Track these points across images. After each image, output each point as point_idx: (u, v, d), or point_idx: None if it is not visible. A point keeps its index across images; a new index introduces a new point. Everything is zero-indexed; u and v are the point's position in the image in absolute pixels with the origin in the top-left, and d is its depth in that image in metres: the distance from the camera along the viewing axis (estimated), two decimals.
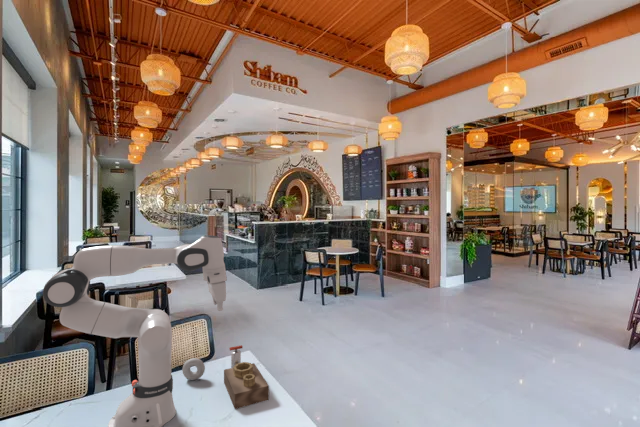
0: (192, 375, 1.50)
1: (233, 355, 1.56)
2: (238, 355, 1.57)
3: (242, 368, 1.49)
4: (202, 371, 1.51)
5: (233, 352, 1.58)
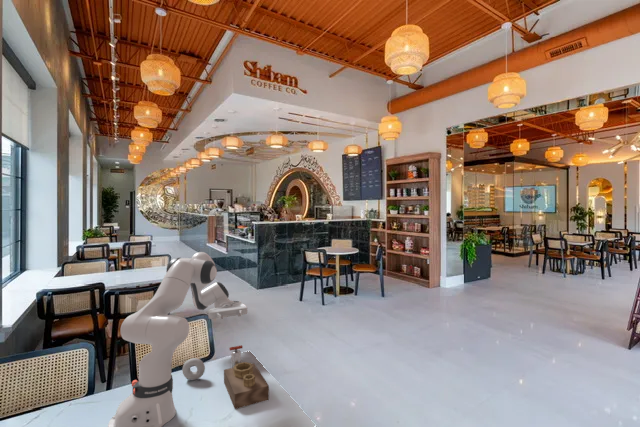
0: (192, 375, 1.50)
1: (233, 355, 1.56)
2: (238, 355, 1.57)
3: (242, 368, 1.49)
4: (202, 371, 1.51)
5: (233, 352, 1.58)
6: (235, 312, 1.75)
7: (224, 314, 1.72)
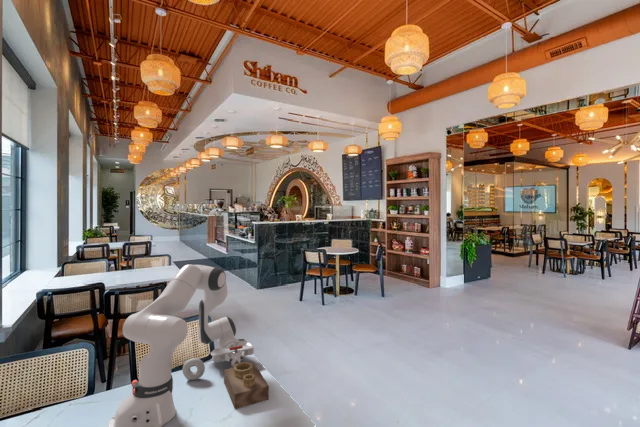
0: (192, 375, 1.50)
1: (233, 355, 1.56)
2: (238, 355, 1.57)
3: (242, 368, 1.49)
4: (202, 371, 1.51)
5: (233, 352, 1.57)
6: (241, 353, 1.64)
7: (229, 356, 1.61)
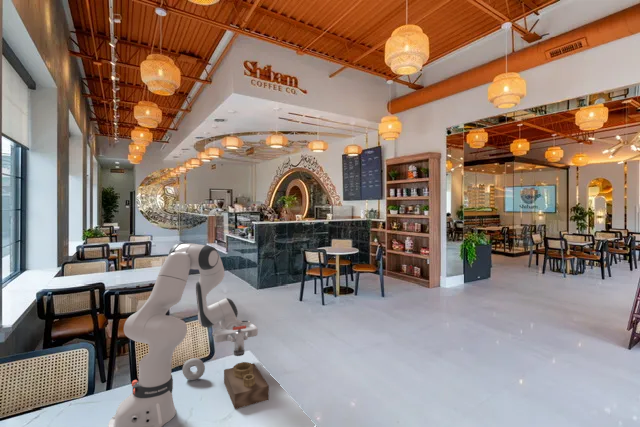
0: (192, 375, 1.50)
1: (236, 335, 1.49)
2: (242, 335, 1.49)
3: (242, 368, 1.49)
4: (202, 371, 1.51)
5: (236, 332, 1.50)
6: None
7: (232, 336, 1.54)
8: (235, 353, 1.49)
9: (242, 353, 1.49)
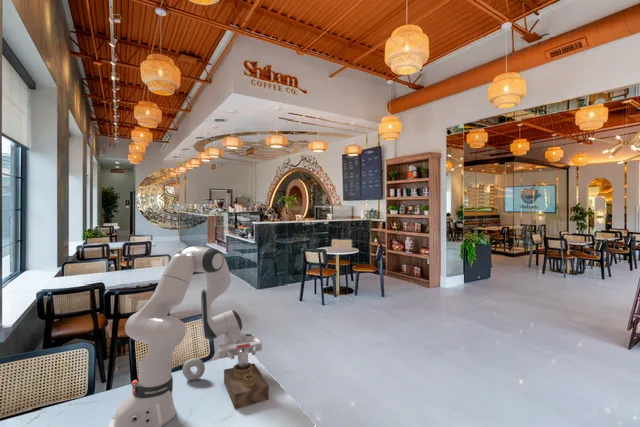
0: (192, 375, 1.50)
1: (240, 354, 1.44)
2: (245, 354, 1.44)
3: None
4: (202, 371, 1.51)
5: (240, 351, 1.45)
6: (248, 349, 1.51)
7: (235, 352, 1.49)
8: None
9: None
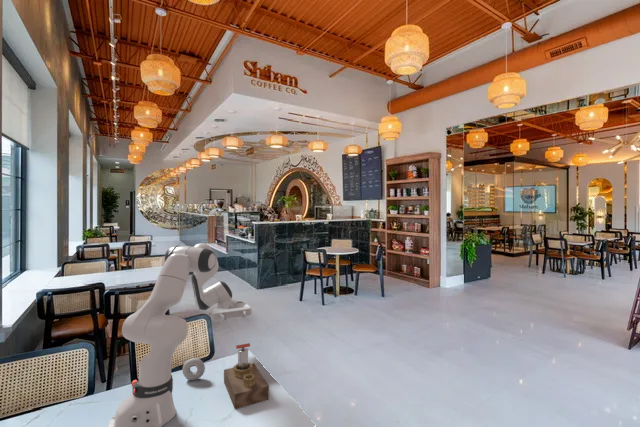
0: (192, 375, 1.50)
1: (240, 354, 1.44)
2: (245, 354, 1.44)
3: None
4: (202, 371, 1.51)
5: (240, 350, 1.45)
6: (239, 313, 1.67)
7: (227, 315, 1.64)
8: None
9: None
